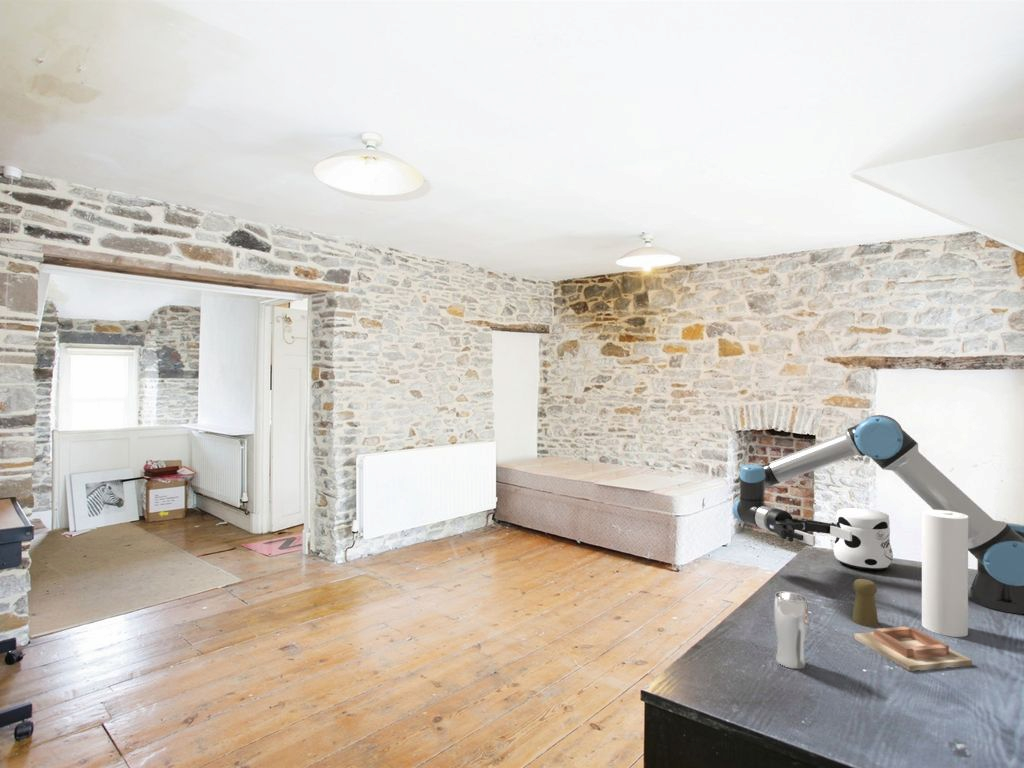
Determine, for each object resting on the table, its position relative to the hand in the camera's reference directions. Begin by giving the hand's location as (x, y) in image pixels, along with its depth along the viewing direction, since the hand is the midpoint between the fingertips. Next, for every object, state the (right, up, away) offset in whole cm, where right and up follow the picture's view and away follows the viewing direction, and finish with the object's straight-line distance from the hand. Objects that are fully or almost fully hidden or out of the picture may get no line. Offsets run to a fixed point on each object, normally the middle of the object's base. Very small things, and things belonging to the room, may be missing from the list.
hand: (832, 538), depth 158 cm
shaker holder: (+4, -20, -25) cm, 32 cm away
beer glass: (-27, -20, -30) cm, 45 cm away
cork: (+3, -20, -9) cm, 22 cm away
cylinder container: (+21, -20, -13) cm, 32 cm away
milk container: (+31, -19, +36) cm, 51 cm away
